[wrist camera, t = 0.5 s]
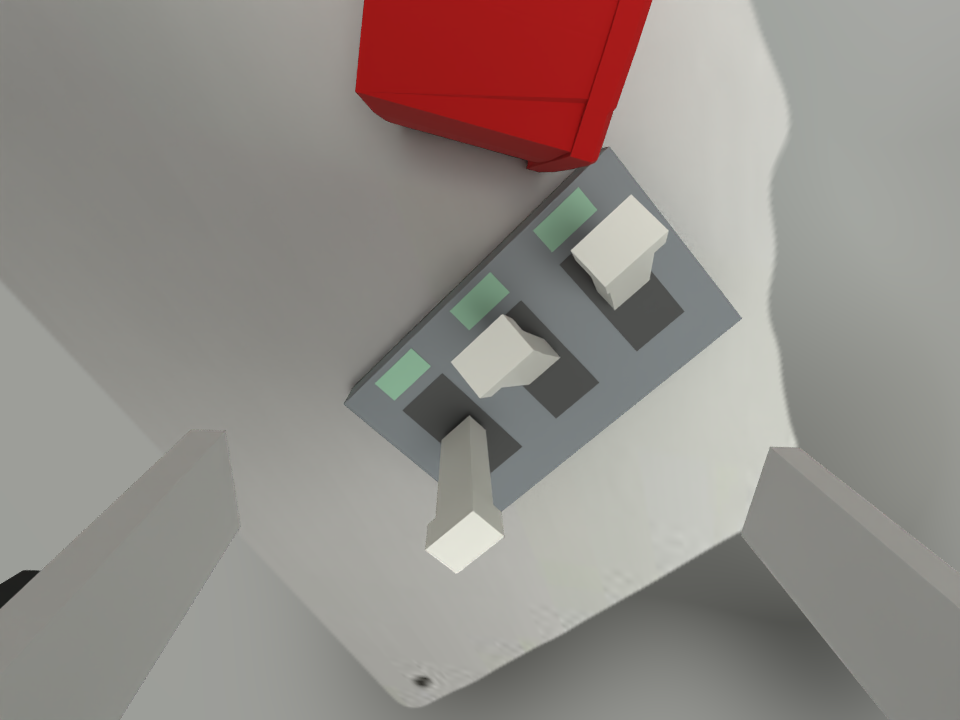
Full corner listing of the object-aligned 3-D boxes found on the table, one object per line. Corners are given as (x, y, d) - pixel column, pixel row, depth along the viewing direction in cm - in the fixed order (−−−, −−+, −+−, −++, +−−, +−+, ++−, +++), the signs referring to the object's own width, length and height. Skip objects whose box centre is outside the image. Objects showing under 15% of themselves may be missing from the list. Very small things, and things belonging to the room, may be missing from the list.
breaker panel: (352, 388, 38) (343, 404, 35) (596, 149, 32) (609, 146, 30) (485, 500, 43) (487, 523, 40) (720, 308, 37) (742, 318, 34)
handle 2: (591, 291, 33) (570, 250, 22) (631, 255, 32) (631, 194, 21) (614, 316, 32) (605, 287, 21) (656, 280, 31) (668, 230, 20)
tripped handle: (436, 439, 36) (425, 550, 25) (469, 410, 35) (473, 510, 24) (458, 458, 36) (456, 573, 25) (491, 430, 35) (504, 536, 25)
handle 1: (508, 365, 34) (450, 361, 23) (544, 333, 34) (502, 313, 23) (529, 390, 34) (479, 398, 23) (566, 358, 33) (533, 350, 22)
